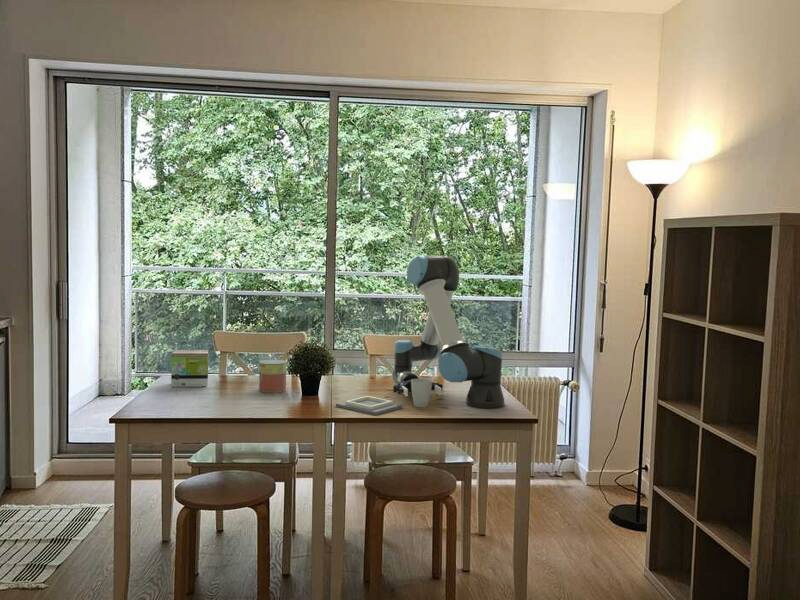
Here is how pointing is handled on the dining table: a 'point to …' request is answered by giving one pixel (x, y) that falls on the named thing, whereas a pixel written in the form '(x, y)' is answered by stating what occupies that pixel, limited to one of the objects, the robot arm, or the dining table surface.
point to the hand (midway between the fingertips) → (423, 392)
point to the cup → (421, 391)
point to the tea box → (189, 368)
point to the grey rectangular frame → (370, 405)
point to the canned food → (272, 375)
